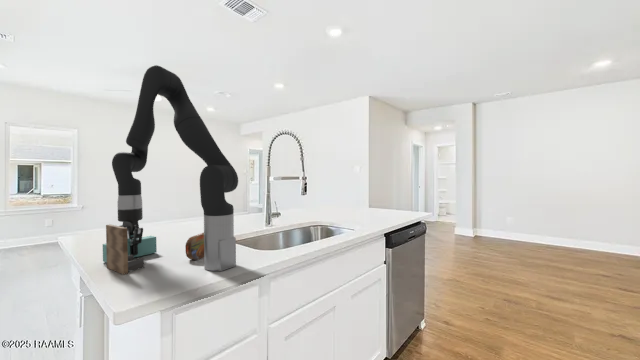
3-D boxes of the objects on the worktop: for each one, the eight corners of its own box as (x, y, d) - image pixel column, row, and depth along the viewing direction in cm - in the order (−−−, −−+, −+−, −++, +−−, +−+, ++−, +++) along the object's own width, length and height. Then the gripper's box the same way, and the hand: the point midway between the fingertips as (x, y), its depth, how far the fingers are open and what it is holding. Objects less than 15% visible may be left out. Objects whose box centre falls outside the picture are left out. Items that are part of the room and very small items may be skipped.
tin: (191, 262, 98) (191, 238, 98) (183, 262, 99) (183, 238, 99) (216, 251, 113) (215, 230, 113) (208, 250, 114) (208, 229, 113)
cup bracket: (147, 268, 92) (146, 225, 92) (123, 274, 86) (122, 228, 86) (129, 262, 99) (128, 222, 98) (106, 267, 93) (106, 224, 93)
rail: (156, 252, 110) (156, 236, 110) (107, 263, 96) (107, 245, 96) (151, 250, 112) (151, 235, 112) (102, 261, 99) (102, 244, 99)
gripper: (150, 207, 103) (151, 254, 103) (132, 205, 111) (133, 249, 111) (127, 209, 97) (128, 260, 97) (109, 207, 105) (110, 254, 105)
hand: (131, 254), depth 104 cm, fingers closed on rail, 4 cm apart
